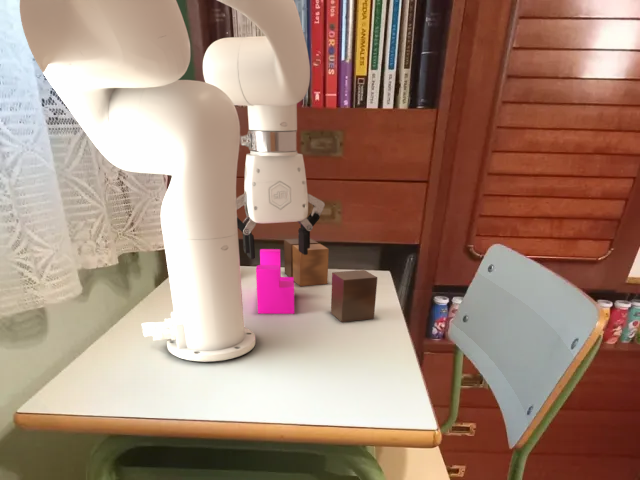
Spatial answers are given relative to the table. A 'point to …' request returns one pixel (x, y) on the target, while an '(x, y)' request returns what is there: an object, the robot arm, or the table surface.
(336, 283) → the line block
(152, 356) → the table surface
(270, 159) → the robot arm
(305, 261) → the block
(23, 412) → the table surface
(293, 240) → the line block
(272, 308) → the toy block
